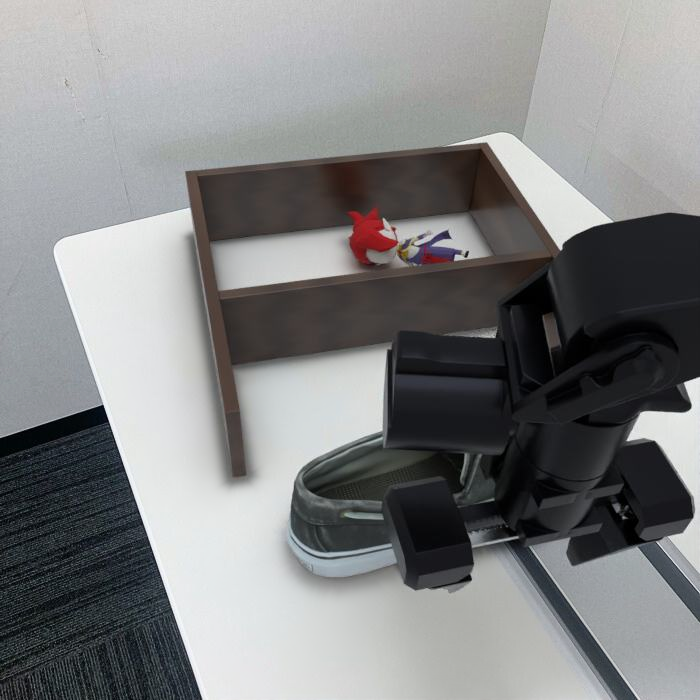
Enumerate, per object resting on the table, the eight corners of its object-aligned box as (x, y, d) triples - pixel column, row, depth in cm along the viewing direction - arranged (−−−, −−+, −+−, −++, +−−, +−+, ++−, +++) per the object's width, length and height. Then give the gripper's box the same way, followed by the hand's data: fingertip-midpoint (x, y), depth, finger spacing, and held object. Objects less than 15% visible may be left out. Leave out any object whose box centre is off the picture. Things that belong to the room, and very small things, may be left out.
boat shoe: (618, 495, 66) (657, 424, 59) (323, 630, 57) (325, 565, 50) (548, 412, 73) (575, 338, 65) (271, 521, 63) (267, 449, 56)
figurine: (454, 303, 82) (325, 270, 85) (469, 271, 88) (349, 241, 92) (465, 250, 78) (330, 217, 81) (480, 221, 85) (355, 191, 88)
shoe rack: (474, 204, 96) (487, 141, 89) (599, 413, 73) (627, 349, 66) (193, 236, 89) (185, 170, 83) (232, 477, 66) (224, 412, 60)
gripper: (644, 315, 49) (581, 457, 60) (366, 358, 45) (354, 500, 56) (745, 453, 41) (652, 585, 53) (421, 517, 38) (395, 644, 49)
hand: (511, 572), depth 53 cm, fingers open, 9 cm apart
